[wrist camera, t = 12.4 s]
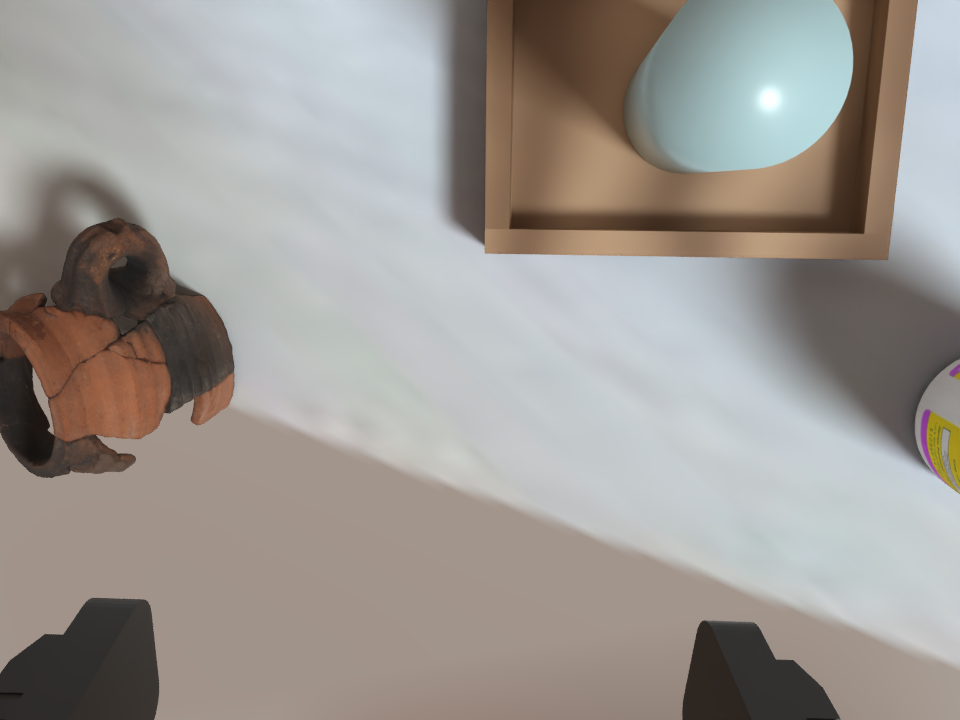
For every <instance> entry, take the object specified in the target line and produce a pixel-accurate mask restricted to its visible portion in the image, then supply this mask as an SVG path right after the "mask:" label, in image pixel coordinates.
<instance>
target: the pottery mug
mask: <svg viewBox="0 0 960 720" xmlns="http://www.w3.org/2000/svg"><path fill="white" fill-rule="evenodd" d="M124 256H125V257H126V258H127V260H128V261H127V264H126V266H122V267H118V268H111V266H112V265H113V264H114V263H115V262H116V261H117V260H118V259H120V258H122V257H124ZM175 290H176V283H175V281H174V280H173V279H172V278H171V277H170V275H169V268H168V264H167V260H166V257H165V255H164V253H163V251H162V249H161V247H160V244H159V243H158V241H157V240H156V239H155V237H153V236H152V235H151V234H150V233H149V232H148V231H147V230H145V229H144V228H142V227H141V226H138V225H136V224H130V223H127V222H125V220H123V219H120V218H117V219H113V220H110V221H107V222H102V223H99V224H96V225H93V226H90V227H88V228H87V229H85V230H84V231H83V232H81V233H80V234H79V235H78V236H77V237H76V238H75V239H74V241H73V242H72V244H71V245H70V247H69V250H68V252H67V255H66V260H65V263H64V268H63V273H62V278H61V280H60V281H58V282H57V283H56V284H55V285H54V286H53V287H52V290H51V298H52V300H53V302H54V303H55V304H56V306H53V307H50V306H48V307H44V306H45V304H46V302H47V298H46V296H45V295H44V294H42V293H37V294H32V295H28V296H25V297H22V298H20V299H19V300H17V301H16V302H15V303H14V304H13V305H12V306H11V307H10V308H9V310H5V311H0V433H1V435H2V438H3V440H4V441H5V443H6V444H7V446H8V448H9V450H10V451H11V452H12V453H13V454H14V455H15V457H16V458H17V459H18V461H19V462H20V463H21V464H22V465H23V466H24V467H25V468H27V470H28V471H29V472H31V473H33V474H35V475H36V476H40V477H44V478H45V477H46V478H48V477H50V478H53V477H55V476H61V475H64V474H69V473H70V471H73V472H80V473H94V474H98V473H104V472H121V471H124V470H126V469H127V468H128V467H130V466H131V465H132V464H133V463H134V462H135V461H136V458H135V456H133V455H132V454H118V453H117V452H116V451H114V450H112V449H110V448H108V447H107V446H106V445H104V444H103V443H102V442H101V440H100V439H99V438H98V437H97V436H96V435H100V436H104V437H116V438H125V439H126V438H130V439H141V438H143V437H144V436H145V435H147V434H150V433H151V432H153V431H154V430H155V429H157V428H158V426H159V424H160V421H161V419H162V416H163V414H164V413H171V412H173V411H174V410H176V409H178V408H180V407H181V406H183V404H185V403H187V402H189V401H191V400H192V399H193V398H194V408H193V413H192V417H191V421H192V423H194V424H196V425H201V424H203V423H205V422H207V421H208V420H210V419H211V418H212V417H213V416H215V415H216V414H217V413H219V412H220V411H221V410H223V409H225V408H226V407H227V406H228V405H229V403H230V400H231V398H232V395H233V389H234V361H233V355H232V345H231V343H230V341H229V338H228V334H227V330H226V328H225V326H224V323H223V321H222V319H221V317H220V316H219V315H218V314H217V312H216V310H215V309H214V307H213V306H212V304H211V303H210V302H209V301H208V299H207V298H206V297H205V296H188V295H178V294H175ZM122 314H123V315H125V316H128V317H130V318H133V319H135V320H138V321H139V323H138V325H137V326H136V327H135V328H133V329H132V330H130V331H128V332H127V333H125V334H124V335H122V334H121V333H120V330H119V327H118V325H117V323H116V322H115V321H114V320H113V319H114V318H117V317H119V316H121V315H122ZM32 368H34V370H35V372H36V374H37V376H38V377H39V379H40V381H41V384H42V387H43V389H44V392H45V394H46V396H47V397H48V399H49V400H48V404H49V408H50V411H51V416H52V421H53V427H54V435H55V436H54V435H53V434H51V433H50V432H49V431H48V428H49V427H50V424H49V422H48V419H47V417H46V415H45V414H44V412H43V410H42V408H41V407H40V405H39V403H38V401H37V398H36V396H35V393H34V390H33V381H32V378H33V376H32V372H33V371H32Z"/></svg>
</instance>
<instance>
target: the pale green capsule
mask: <svg viewBox="0 0 960 720" xmlns="http://www.w3.org/2000/svg"><path fill="white" fill-rule="evenodd" d="M852 72H853V49H852V41H851V37H850V33H849V29H848V27H847V24H846V21H845V19H844V17H843V15H842V13H841V12H840V10H839V8H838V6H837V5H836V4H835V3H834V1H833V0H688V1H687V2H686V3H685V4H684V5H683V6H682V8H681V9H680V10H679V11H678V13H677V14H676V15H675V17H674V18H673V20H672V21H671V22H670V24H669V25H668V27H667V28H666V29H665V31H664V32H663V34H662V35H661V36H660V38H659V39H658V41H657V42H656V43H655V45H654V46H653V47H652V49H651V50H650V52H649V53H648V54H647V56H646V57H645V59H644V60H643V61H642V63H641V64H640V66H639V67H638V68H637V70H636V71H635V73H634V74H633V76H632V78H631V80H630V82H629V84H628V87H627V89H626V92H625V97H624V102H623V121H624V126H625V130H626V133H627V136H628V138H629V140H630V142H631V144H632V146H633V147H634V149H635V150H636V151H637V153H638V154H639V155H640V156H641V157H642V158H643V159H644V160H645V161H647V162H648V163H650V164H651V165H653V166H655V167H656V168H658V169H661V170H664V171H666V172H671V173H677V174H691V173H705V172H719V171H733V170H747V169H759V168H765V167H770V166H773V165H776V164H779V163H782V162H785V161H787V160H789V159H791V158H793V157H795V156H797V155H799V154H800V153H802V152H803V151H805V150H806V149H808V148H809V147H810V146H811V145H813V144H814V143H815V142H816V141H817V140H818V139H819V138H820V137H821V136H822V135H823V134H824V133H825V132H826V131H827V130H828V128H829V127H830V126H831V124H832V123H833V122H834V120H835V119H836V117H837V115H838V114H839V112H840V110H841V108H842V106H843V104H844V102H845V99H846V97H847V94H848V90H849V87H850V84H851V78H852Z"/></svg>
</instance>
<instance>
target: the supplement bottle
mask: <svg viewBox="0 0 960 720" xmlns="http://www.w3.org/2000/svg"><path fill="white" fill-rule="evenodd" d="M915 436H916V442H917V446H918V449H919V451H920V454H921V456H922V458H923V460H924V461H925V463H926V464H927V465H928V467H929V468H930V469H931V471H932V472H933V473H934V474H935V475H936V476H937V477H938V478H939V479H941V480H942V481H943V482H944V483H946V484H947V485H948V486H950V487H951V488H952V489H954V490H955V491H956V492H958V493H959V494H960V359H958V360H956V361H955V362H953V363H952V364H950V365H949V366H947V367H946V368H945V369H944V370H942V371H941V372H940V373H939V374H938V375H937V376H936V377H935V378H934V379H933V381H932V382H931V383H930V384H929V386H928V387H927V389H926V390H925V392H924V394H923V396H922V398H921V400H920V403H919V405H918V408H917V412H916V417H915Z"/></svg>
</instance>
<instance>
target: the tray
mask: <svg viewBox="0 0 960 720" xmlns="http://www.w3.org/2000/svg"><path fill="white" fill-rule="evenodd" d="M687 1H688V0H487V65H486V168H485V253H491V254H553V255H614V256H676V257H738V258H800V259H862V260H888V254H889V245H890V236H891V228H892V219H893V211H894V202H895V193H896V185H897V176H898V167H899V159H900V150H901V142H902V133H903V124H904V116H905V107H906V98H907V90H908V81H909V73H910V64H911V55H912V47H913V38H914V29H915V21H916V12H917V3H918V0H833V1H834V3H835V4H836V5H837V6H838V8H839V10H840V12H841V13H842V15H843V17H844V19H845V21H846V24H847V27H848V29H849V33H850V37H851V41H852V49H853V72H852V78H851V84H850V87H849V90H848V94H847V97H846V99H845V102H844V104H843V106H842V108H841V110H840V112H839V114H838V115H837V117H836V119H835V120H834V122H833V123H832V124H831V126H830V127H829V128H828V130H827V131H826V132H825V133H824V134H823V135H822V136H821V137H820V138H819V139H818V140H817V141H816V142H815V143H814V144H813V145H811V146H810V147H809V148H808V149H806V150H805V151H803V152H802V153H800V154H799V155H797V156H795V157H793V158H791V159H789V160H787V161H785V162H782V163H779V164H776V165H773V166H770V167H765V168H759V169H747V170H733V171H719V172H705V173H691V174H677V173H671V172H666V171H664V170H661V169H658V168H656V167H655V166H653V165H651V164H650V163H648V162H647V161H645V160H644V159H643V158H642V157H641V156H640V155H639V154H638V153H637V151H636V150H635V149H634V147H633V146H632V144H631V142H630V140H629V138H628V136H627V133H626V130H625V126H624V121H623V102H624V97H625V92H626V89H627V87H628V84H629V82H630V80H631V78H632V76H633V74H634V73H635V71H636V70H637V68H638V67H639V66H640V64H641V63H642V61H643V60H644V59H645V57H646V56H647V54H648V53H649V52H650V50H651V49H652V47H653V46H654V45H655V43H656V42H657V41H658V39H659V38H660V36H661V35H662V34H663V32H664V31H665V29H666V28H667V27H668V25H669V24H670V22H671V21H672V20H673V18H674V17H675V15H676V14H677V13H678V11H679V10H680V9H681V8H682V6H683V5H684V4H685V3H686V2H687Z"/></svg>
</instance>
